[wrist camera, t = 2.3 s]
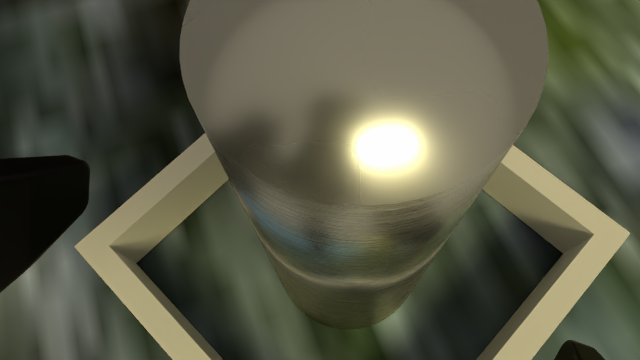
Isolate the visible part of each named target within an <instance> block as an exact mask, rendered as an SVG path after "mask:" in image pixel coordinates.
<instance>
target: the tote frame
mask: <svg viewBox="0 0 640 360" xmlns="http://www.w3.org/2000/svg"><path fill="white" fill-rule="evenodd" d="M228 179H229V178H228V176H227V174H226V172H225V170H224V168H223V166H222V164H221V163H220V161H219V159H218V157H217V155H216V153H215V151H214V149H213V147H212V145H211V143H210V141H209V139H208V137H207V135H206V133H204V134H203V135H202V136H201V137H200V138H199V139H198V140H196V141H195V142H194V143H193V144H192V145H191V146H189V147H188V148H187V149H186V150H185V151H184V152H183V153H181V154H180V155H179V156H178V157H177V158H176V159H175V160H173V161H172V162H171V163H170V164H169V165H168V166H166V167H165V168H164V169H163V170H162V171H161V172H160V173H158V174H157V175H156V176H155V177H154V178H153V179H151V180H150V181H149V182H148V183H147V184H146V185H145V186H143V187H142V188H141V189H140V190H139V191H138V192H137V193H135V194H134V195H133V196H132V197H131V198H130V199H128V200H127V201H126V202H125V203H124V204H123V205H122V206H120V207H119V208H118V209H117V210H116V211H115V212H114V213H112V214H111V215H110V216H109V217H108V218H107V219H105V220H104V221H103V222H102V223H101V224H100V225H99V226H97V227H96V228H95V229H94V230H93V231H92V232H91V233H89V234H88V235H87V236H86V237H85V238H84V239H82V240H81V241H80V242H79V243H78V244H77V245H76V246H74V247H75V248H76V249H77V250H78V251H79V253H80V254H81V255H82V256H83V257H84V258H85V259H86V261H87V262H88V263H89V264H90V265H91V266H92V268H93V269H94V270H95V271H96V272H97V273H98V274H99V276H100V277H101V278H102V279H103V280H104V281H105V282H106V284H107V285H108V286H109V287H110V288H111V289H112V290H113V292H114V293H115V294H116V295H117V296H118V297H119V299H120V300H121V301H122V302H123V303H124V304H125V305H126V307H127V308H128V309H129V310H130V311H131V312H132V313H133V315H134V316H135V317H136V318H137V319H138V320H139V321H140V323H141V324H142V325H143V326H144V327H145V328H146V330H147V331H148V332H149V333H150V334H151V335H152V336H153V338H154V339H155V340H156V341H157V342H158V343H159V344H160V346H161V347H162V348H163V349H164V350H165V351H166V352H167V354H168V355H169V356H170V357H171V358H172V359H173V360H223V359H222V357H221V356H220V355H219V354H218V353H217V352H216V351H215V350H214V349H213V348H212V346H211V345H210V344H209V343H208V342H207V341H206V340H205V339H204V338H203V337H202V335H201V334H200V333H199V332H198V331H197V330H196V329H195V328H194V327H193V326H192V324H191V323H190V322H189V321H188V320H187V319H186V318H185V317H184V316H183V315H182V313H181V312H180V311H179V310H178V309H177V308H176V307H175V306H174V305H173V304H172V302H171V301H170V300H169V299H168V298H167V297H166V296H165V295H164V294H163V292H162V291H161V290H160V289H159V288H158V287H157V286H156V285H155V284H154V283H153V281H152V280H151V279H150V278H149V277H148V276H147V275H146V274H145V273H144V272H143V270H142V269H141V268H140V267H139V266H138V265H137V264H136V263H137V262H138V261H139V260H141V259H142V258H143V257H144V256H145V255H146V254H147V253H148V252H149V251H150V250H151V249H153V248H154V247H155V246H156V245H157V244H158V243H159V242H160V241H161V240H162V239H164V238H165V237H166V236H167V235H168V234H169V233H170V232H171V231H172V230H173V229H175V228H176V227H177V226H178V225H179V224H180V223H181V222H182V221H183V220H184V219H186V218H187V217H188V216H189V215H190V214H191V213H192V212H193V211H194V210H195V209H196V208H198V207H199V206H200V205H201V204H202V203H203V202H204V201H205V200H206V199H207V198H209V197H210V196H211V195H212V194H213V193H214V192H215V191H216V190H217V189H218V188H220V187H221V186H222V185H223V184H224V183H225V182H226V181H227V180H228ZM483 190H484V191H485V192H486V193H488V194H489V195H490V196H491V197H493V198H494V199H495V200H497V201H498V202H499V203H500V204H502V205H503V206H504V207H505V208H507V209H508V210H509V211H510V212H512V213H513V214H514V215H515V216H517V217H518V218H519V219H520V220H522V221H523V222H524V223H525V224H527V225H528V226H529V227H530V228H532V229H533V230H534V231H535V232H537V233H538V234H539V235H540V236H542V237H543V238H544V239H545V240H547V241H548V242H549V243H551V244H552V245H553V246H554V247H556V248H557V249H558V250H559V251H561V252H562V253H563V255H562V256H561V257H560V258H559V259H558V261H557V262H556V263H555V264H554V266H553V267H552V268H551V269H550V270H549V272H548V273H547V274H546V275H545V277H544V278H543V279H542V280H541V281H540V283H539V284H538V285H537V286H536V288H535V289H534V290H533V291H532V292H531V294H530V295H529V296H528V297H527V298H526V300H525V301H524V302H523V303H522V305H521V306H520V307H519V308H518V309H517V311H516V312H515V313H514V314H513V316H512V317H511V318H510V319H509V320H508V322H507V323H506V324H505V325H504V327H503V328H502V329H501V330H500V331H499V333H498V334H497V335H496V336H495V337H494V339H493V340H492V341H491V342H490V344H489V345H488V346H487V347H486V348H485V350H484V351H483V352H482V353H481V355H480V356H479V357H478V358H477V359H476V360H531V359H532V358H533V357H534V355H535V354H536V353H537V352H538V350H539V349H540V348H541V346H542V345H543V344H544V343H545V341H546V340H547V339H548V338H549V336H550V335H551V334H552V332H553V331H554V330H555V329H556V327H557V326H558V325H559V324H560V322H561V321H562V320H563V318H564V317H565V316H566V315H567V313H568V312H569V311H570V310H571V308H572V307H573V306H574V304H575V303H576V302H577V301H578V299H579V298H580V297H581V296H582V294H583V293H584V292H585V290H586V289H587V288H588V287H589V285H590V284H591V283H592V282H593V280H594V279H595V278H596V277H597V275H598V274H599V273H600V271H601V270H602V269H603V268H604V266H605V265H606V264H607V263H608V261H609V260H610V259H611V257H612V256H613V255H614V254H615V252H616V251H617V250H618V249H619V247H620V246H621V245H622V243H623V242H624V241H625V240H626V238H627V237H628V236H629V235H630V233H629V232H628V231H627V230H625V229H624V228H623V227H621V226H620V225H619V224H617V223H616V222H615V221H613V220H612V219H611V218H609V217H608V216H607V215H605V214H604V213H603V212H601V211H600V210H599V209H597V208H596V207H595V206H593V205H592V204H591V203H589V202H588V201H587V200H585V199H584V198H583V197H581V196H580V195H579V194H577V193H576V192H575V191H573V190H572V189H571V188H570V187H568V186H567V185H566V184H564V183H563V182H562V181H560V180H559V179H558V178H556V177H555V176H554V175H552V174H551V173H550V172H548V171H547V170H546V169H544V168H543V167H542V166H540V165H539V164H538V163H536V162H535V161H534V160H532V159H531V158H530V157H528V156H527V155H526V154H524V153H523V152H522V151H520V150H519V149H518V148H516V147H515V146H514V145H512V147H511V148H510V150H509V151H508V153H507V154H506V156H505V157H504V158H503V160H502V161H501V163H500V164H499V166H498V167H497V168H496V170H495V171H494V173H493V174H492V176H491V177H490V179H489V180H488V181H487V183H486V184H485V186H484V187H483Z"/></svg>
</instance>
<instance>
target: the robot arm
mask: <svg viewBox="0 0 640 360" xmlns="http://www.w3.org/2000/svg"><path fill="white" fill-rule="evenodd" d="M89 181H90V168H89V165H88V164H87V162H85V161H83V160H80V159H78V158H75V157H72V156H69V155H61V156H43V157H26V158H9V159H0V292H2V291H3V290H4V289H5V288H6V287H7V286H9V285H10V284H11V283H12V282H13V281H15V280H16V279H17V278H18V277H19V276H20V275H22V274H23V273H24V272H25V271H26V270H27V269H28V268H29V267H31V266H32V265H33V264H34V263H35V262H36V261H37V260H38V259H39V258H40V257H41V256H42V255H43V254H44V253H45V251H46V250H47V249H48V248H49V247H50V246H51V245H52V244H53V243H54V242H55V241H56V240H57V239H58V238H59V237H60V236H61V235H62V234H63V233H64V232H65V231H66V230H67V229H68V228H69V227H70V226H71V225H72V223H73V222H74V221H75V220H76V219H77V218H78V217H79V216H80V215H81V214H82V213H83V212H84V210H85V209H86V207H87V204H88V200H89ZM554 360H605V359H604V358H603V357H602V356H601V355H600V354H599V353H598V352H597V350H595V349H594V348H592V347H590V346H587V345H585V344H582V343H579V342H576V341H574V340H568V341H566V342H565V343H564V344H563V345H562V347H561V348H560V350H559V352H558V354H557V355H556V357H555V359H554Z"/></svg>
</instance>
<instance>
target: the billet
mask: <svg viewBox="0 0 640 360" xmlns="http://www.w3.org/2000/svg"><path fill="white" fill-rule="evenodd" d="M180 66H181V73H182V79H183V83H184V86H185V89H186V93H187V96H188V99H189V101H190V103H191V105H192V107H193V109H194V111H195V113H196V116H197V118H198V120H199V121H200V123H201V125H202V127H203V129H204V131H205V133H206V135H207V137H208V139H209V141H210V143H211V145H212V147H213V149H214V151H215V153H216V155H217V157H218V159H219V161H220V163H221V164H222V166H223V168H224V170H225V172H226V174H227V176H228V178H229V180H230V182H231V184H232V186H233V188H234V190H235V192H236V194H237V196H238V198H239V200H240V202H241V204H242V206H243V207H244V209H245V211H246V213H247V215H248V217H249V219H250V221H251V223H252V225H253V227H254V229H255V231H256V233H257V235H258V237H259V239H260V241H261V243H262V245H263V247H264V249H265V250H266V252H267V254H268V256H269V258H270V260H271V262H272V264H273V266H274V268H275V270H276V272H277V274H278V276H279V278H280V280H281V282H282V284H283V286H284V288H285V290H286V292H287V293H288V295H289V297H290V298H291V300H292V301H293V303H294V304H295V305H296V306H297V307H298V308H299V309H300V310H301V311H302V312H303V313H304V314H305V315H307V316H308V317H310V318H311V319H313V320H314V321H316V322H318V323H320V324H323V325H326V326H329V327H332V328H337V329H349V330H350V329H360V328H365V327H369V326H372V325H374V324H377V323H379V322H381V321H383V320H384V319H386V318H387V317H389V316H390V315H392V314H393V313H394V312H395V311H396V310H397V309H398V308H399V307H400V306H401V305H402V303H403V302H404V301H405V299H406V298H407V297H408V295H409V294H410V292H411V291H412V289H413V288H414V286H415V285H416V284H417V282H418V281H419V279H420V278H421V276H422V275H423V274H424V272H425V271H426V269H427V268H428V266H429V265H430V263H431V262H432V261H433V259H434V258H435V256H436V255H437V253H438V252H439V251H440V249H441V248H442V246H443V245H444V243H445V242H446V240H447V239H448V238H449V236H450V235H451V233H452V232H453V230H454V229H455V227H456V226H457V225H458V223H459V222H460V220H461V219H462V217H463V216H464V215H465V213H466V212H467V210H468V209H469V207H470V206H471V204H472V203H473V202H474V200H475V199H476V197H477V196H478V194H479V193H480V191H481V190H482V189H483V187H484V186H485V184H486V183H487V181H488V180H489V179H490V177H491V176H492V174H493V173H494V171H495V170H496V168H497V167H498V166H499V164H500V163H501V161H502V160H503V158H504V157H505V156H506V154H507V153H508V151H509V150H510V148H511V147H512V145H513V144H514V143H515V141H516V140H517V138H518V137H519V135H520V134H521V132H522V131H523V130H524V128H525V127H526V125H527V123H528V121H529V120H530V118H531V116H532V114H533V112H534V111H535V109H536V107H537V104H538V102H539V99H540V96H541V93H542V91H543V88H544V84H545V78H546V73H547V68H548V40H547V33H546V26H545V22H544V19H543V16H542V12H541V9H540V6H539V4H538V2H537V0H190V2H189V5H188V8H187V11H186V13H185V16H184V19H183V25H182V30H181V36H180Z"/></svg>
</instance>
